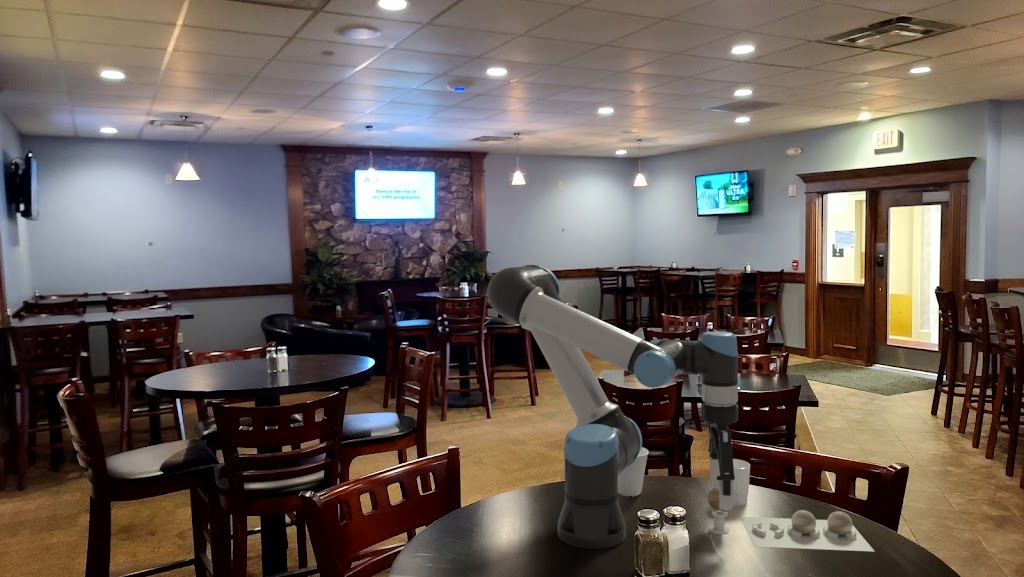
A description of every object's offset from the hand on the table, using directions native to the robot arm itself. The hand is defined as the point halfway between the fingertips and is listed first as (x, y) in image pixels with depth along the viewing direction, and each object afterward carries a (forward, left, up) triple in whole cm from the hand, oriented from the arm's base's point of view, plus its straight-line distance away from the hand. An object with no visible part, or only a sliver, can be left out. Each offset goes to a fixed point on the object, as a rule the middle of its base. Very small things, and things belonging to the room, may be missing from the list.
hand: (721, 497), depth 160 cm
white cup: (+6, +18, -8) cm, 21 cm away
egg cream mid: (+18, 0, -7) cm, 19 cm away
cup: (-19, +23, -8) cm, 31 cm away
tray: (+18, 0, -8) cm, 19 cm away
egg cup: (0, 0, -8) cm, 8 cm away
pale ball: (+25, 0, -7) cm, 26 cm away
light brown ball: (0, 0, -3) cm, 3 cm away
